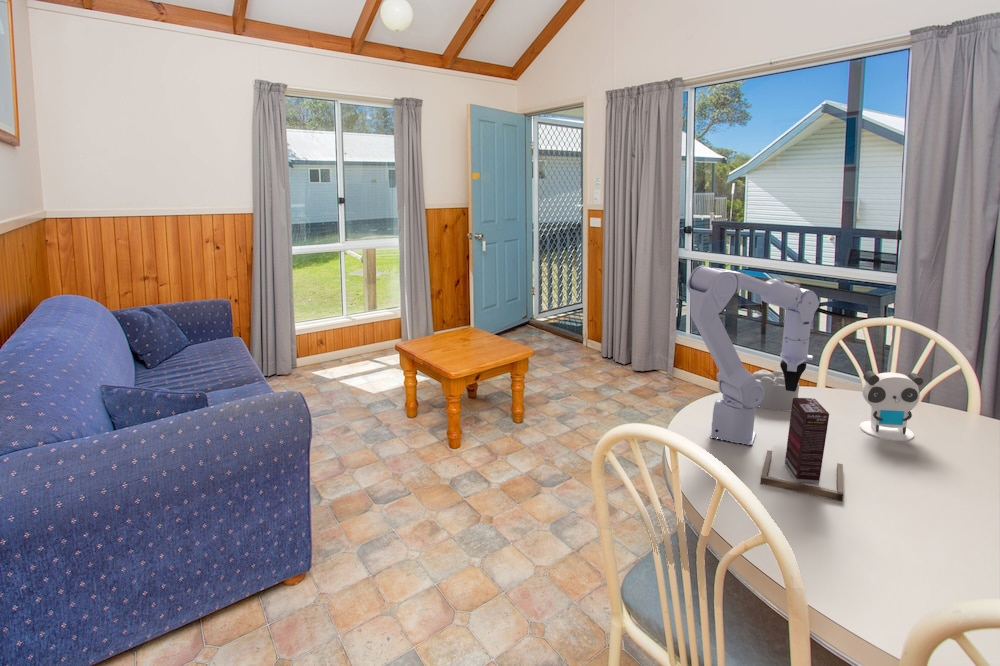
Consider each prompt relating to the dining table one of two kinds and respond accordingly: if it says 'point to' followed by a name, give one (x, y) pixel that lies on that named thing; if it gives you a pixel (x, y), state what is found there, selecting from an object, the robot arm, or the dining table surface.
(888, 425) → the panda figurine
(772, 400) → the lumpy-topped squat cylinder
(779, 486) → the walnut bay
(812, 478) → the supplement box
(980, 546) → the dining table surface
